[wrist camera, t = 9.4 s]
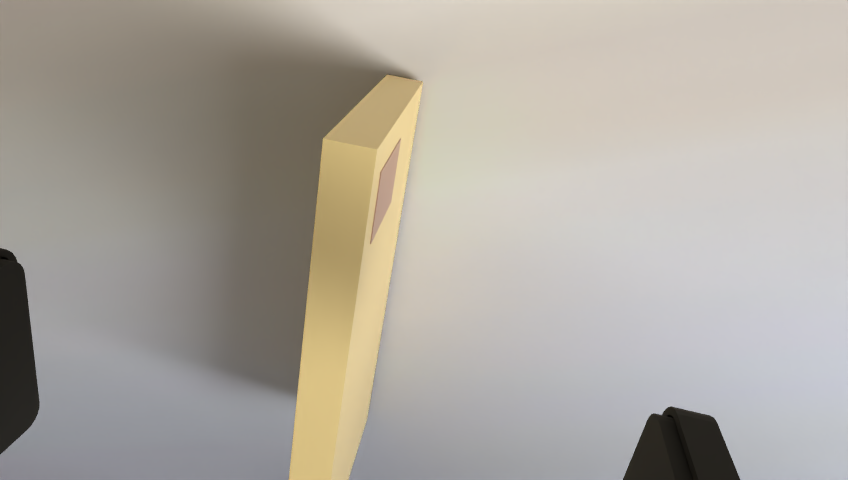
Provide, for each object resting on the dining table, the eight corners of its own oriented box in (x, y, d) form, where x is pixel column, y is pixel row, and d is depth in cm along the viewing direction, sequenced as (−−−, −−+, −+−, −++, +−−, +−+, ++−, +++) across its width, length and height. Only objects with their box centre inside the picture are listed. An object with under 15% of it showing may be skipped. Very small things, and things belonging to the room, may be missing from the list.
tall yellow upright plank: (423, 81, 17) (378, 150, 11) (367, 419, 22) (316, 584, 16) (386, 74, 17) (322, 138, 11) (339, 412, 22) (278, 575, 16)
